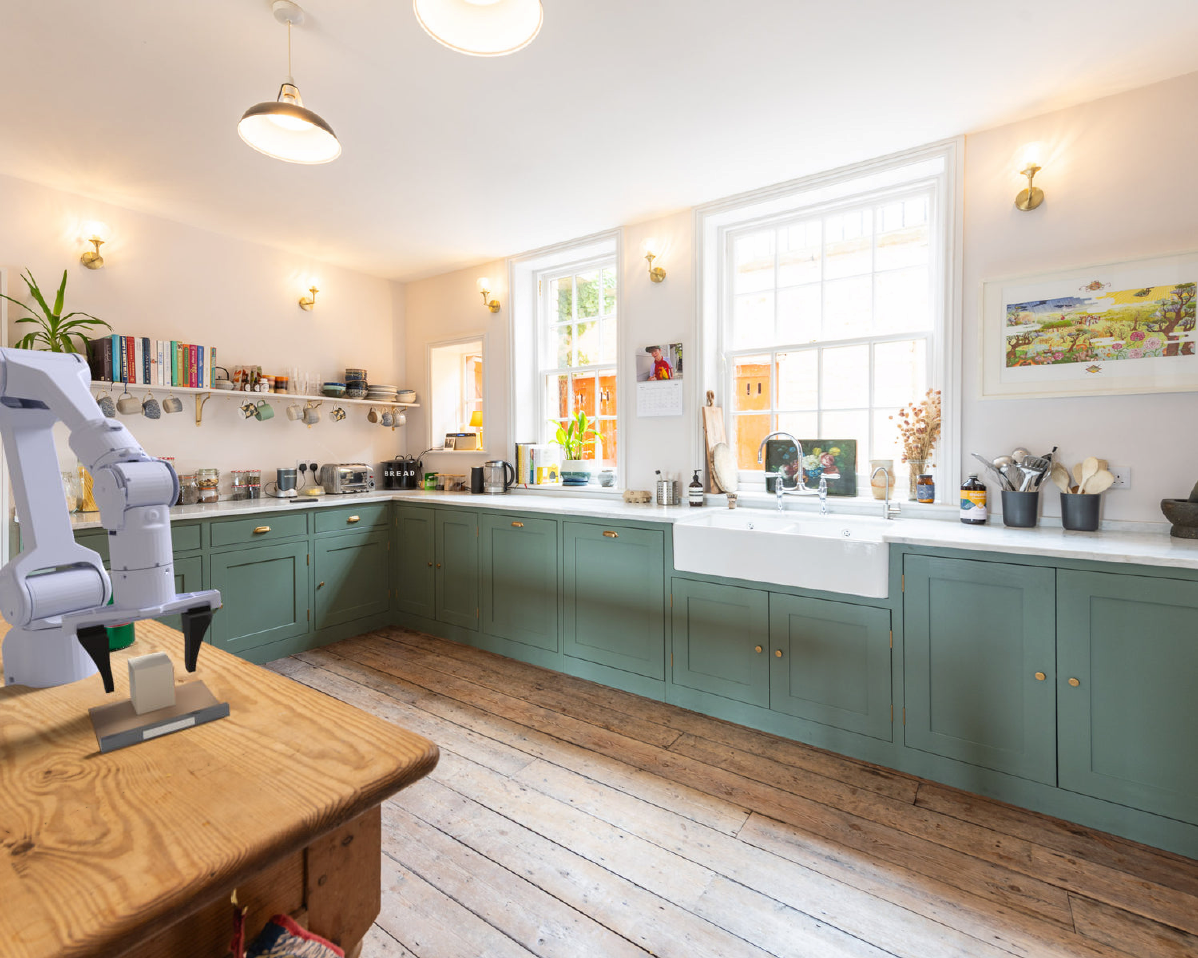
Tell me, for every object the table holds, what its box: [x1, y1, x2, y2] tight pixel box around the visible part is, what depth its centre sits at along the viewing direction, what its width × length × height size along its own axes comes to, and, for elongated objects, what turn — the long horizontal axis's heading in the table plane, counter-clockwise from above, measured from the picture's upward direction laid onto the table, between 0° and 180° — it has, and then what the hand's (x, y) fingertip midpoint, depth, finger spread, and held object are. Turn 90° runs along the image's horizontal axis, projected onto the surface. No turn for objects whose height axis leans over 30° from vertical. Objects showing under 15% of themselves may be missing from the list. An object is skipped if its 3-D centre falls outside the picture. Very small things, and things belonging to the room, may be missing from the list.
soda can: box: [105, 569, 136, 652], centre depth 93 cm, size 5×5×12 cm
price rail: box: [99, 701, 231, 754], centre depth 62 cm, size 11×1×1 cm, turn 135°
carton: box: [127, 650, 176, 715], centre depth 69 cm, size 6×4×5 cm, turn 45°
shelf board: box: [88, 679, 231, 754], centre depth 67 cm, size 11×14×2 cm
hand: (151, 679), depth 69 cm, fingers open, 7 cm apart
